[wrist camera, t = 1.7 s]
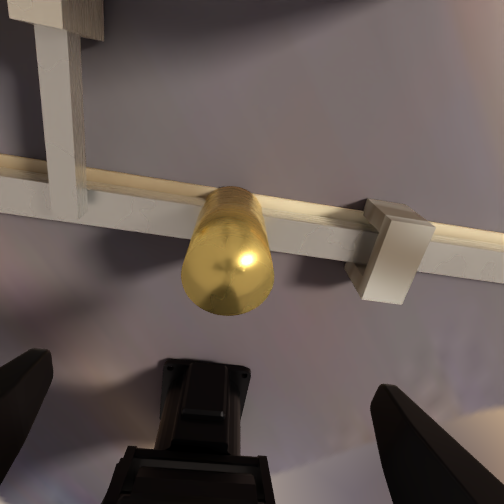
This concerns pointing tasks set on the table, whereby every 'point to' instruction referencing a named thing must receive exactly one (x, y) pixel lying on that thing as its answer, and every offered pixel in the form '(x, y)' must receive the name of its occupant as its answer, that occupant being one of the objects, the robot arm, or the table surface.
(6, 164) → the track
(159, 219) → the rod
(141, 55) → the table surface
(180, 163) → the table surface
